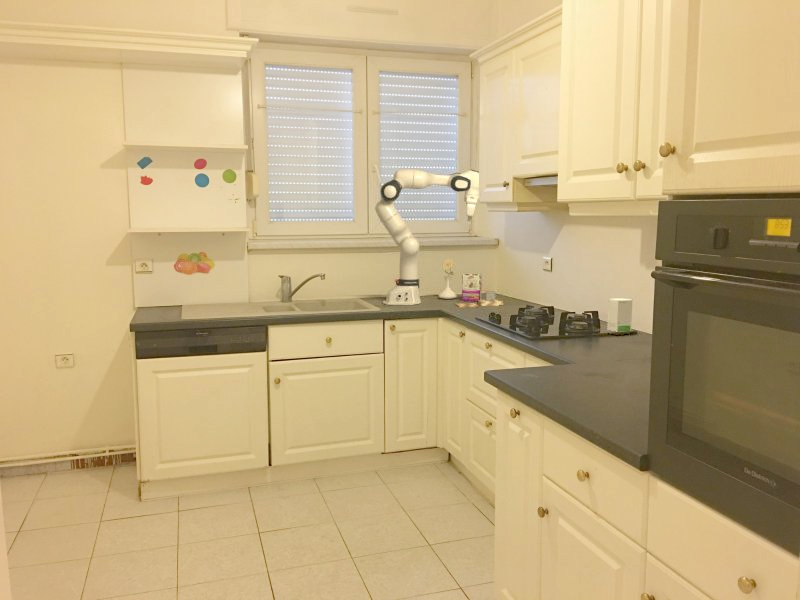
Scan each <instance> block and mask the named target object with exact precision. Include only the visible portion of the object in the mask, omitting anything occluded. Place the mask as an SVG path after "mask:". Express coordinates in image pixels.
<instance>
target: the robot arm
mask: <svg viewBox="0 0 800 600" xmlns="http://www.w3.org/2000/svg"><path fill="white" fill-rule="evenodd" d="M479 172H480V171H478V170H475V169H468V170H467V171H465V172H463V173H461V172H454V173H451V174H435V173H432V172H431V173H430V172H428V171H425V170H421V169H415V168H404V169H403V168H401V169H400V168H399V169H397V170H396V171H395V173H394V175H393V177H392V178H393V179H391V180H390V181H387V182H385V183H383V184H382V186H380V191H379V193H380V197H381V198H380V200H379V201H378V202H377V203H376V204H375V207H374V209H375V212H376V215H377V216H378V219H379V220H380V222H381V224H382V225H383V227H384V228H385V229H386V230H387V232H388V233H389V235H390V237H391V238H392V240H393V241H394V242H395V244H396V246H397V247H398V249H399V252H400V253H399V278H398V279H396V278H395V279H394V283H395V286H394V287H392V288H391V289H390V290H388V291H387V293H386V299H384V300H382V304H384V305H388V306H390V305H391V306H414V305H418V304H422V300H421V296H420V279H419V272H420V271H419V270H420V269H419V265H420V241H419V240H418V239H417V238H416V237H415V235H414V234H413V233H412V230H410V228H409V225H407V223H406V222H405V220H404V218H403V217H402V216H401V214H400V212H399V211H398V210H397V208H396V206H395V204H394V202H395V201H396V200H397V199H398V198H399V197H400V194H401V191H402V190H405V189H411V190H412V189H413V190H421V189H427V188H428V187H431V186H440V187H449V188H451V190H453V191H454V192H457V193H460V192H464V195H463V196H464V198H463V201H464V202H465V205H466V217H467V225H470V224H471V223H472V222H471V221H472V218H473V217H474V215H475V210H476V206H477V205H478V204H480V200H479Z"/></svg>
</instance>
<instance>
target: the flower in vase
mask: <svg viewBox="0 0 800 600" xmlns="http://www.w3.org/2000/svg"><path fill="white" fill-rule="evenodd" d="M453 265H454V260H453V259H452V258H447V259H445V261H443V264H442V269H443V270H444V273H446V274H448V275H445V276H443V277H444V280H445V288H444V290H442V291H441V292H440V293H439V294H438V298H441V299H444V300H452V299H455V298H457V297H458V295H457V294H456V292H454V291H453V290H452V289H451V288H450V283H451V280H452V279H451V278H452V277H453V275H454V272H453V270H452V266H453ZM448 270H450V271H449V272H448Z"/></svg>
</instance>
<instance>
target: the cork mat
mask: <svg viewBox="0 0 800 600" xmlns="http://www.w3.org/2000/svg"><path fill="white" fill-rule="evenodd" d="M454 304H455V305H454V306H456V305H457V306H456V307H458V306H459V307H458V308H477V307H478V308H480V307H481V306H480V305H478V303H475V302H472V303H471V302H467V303H465V302H464V303H463V302H462V303H459V302H458V303H457V302H456V303H454ZM475 306H476V307H475Z"/></svg>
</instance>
